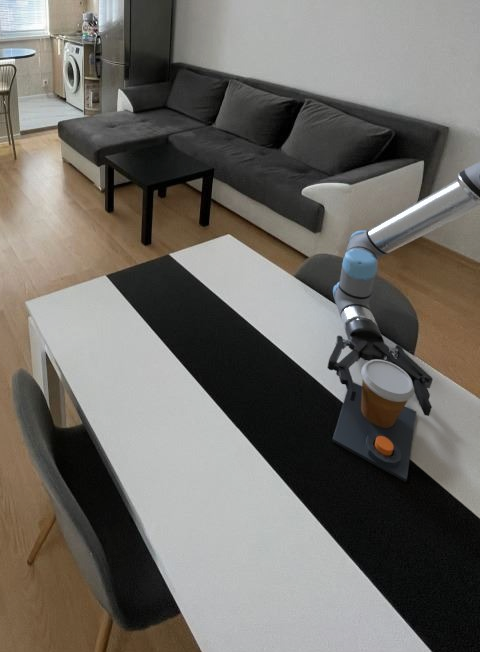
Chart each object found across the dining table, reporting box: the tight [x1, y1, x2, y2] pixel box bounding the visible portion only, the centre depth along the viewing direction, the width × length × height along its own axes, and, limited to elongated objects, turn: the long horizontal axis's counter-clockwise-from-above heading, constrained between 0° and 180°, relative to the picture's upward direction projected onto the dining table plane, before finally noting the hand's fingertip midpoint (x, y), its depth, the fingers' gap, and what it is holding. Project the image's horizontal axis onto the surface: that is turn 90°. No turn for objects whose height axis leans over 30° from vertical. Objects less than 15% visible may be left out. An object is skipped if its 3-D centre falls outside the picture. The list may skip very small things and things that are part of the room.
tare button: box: [375, 436, 394, 456], centre depth 88 cm, size 3×3×2 cm
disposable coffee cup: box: [360, 359, 415, 428], centre depth 94 cm, size 10×10×12 cm
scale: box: [331, 382, 417, 483], centre depth 94 cm, size 18×13×4 cm
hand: (389, 403), depth 90 cm, fingers open, 13 cm apart
